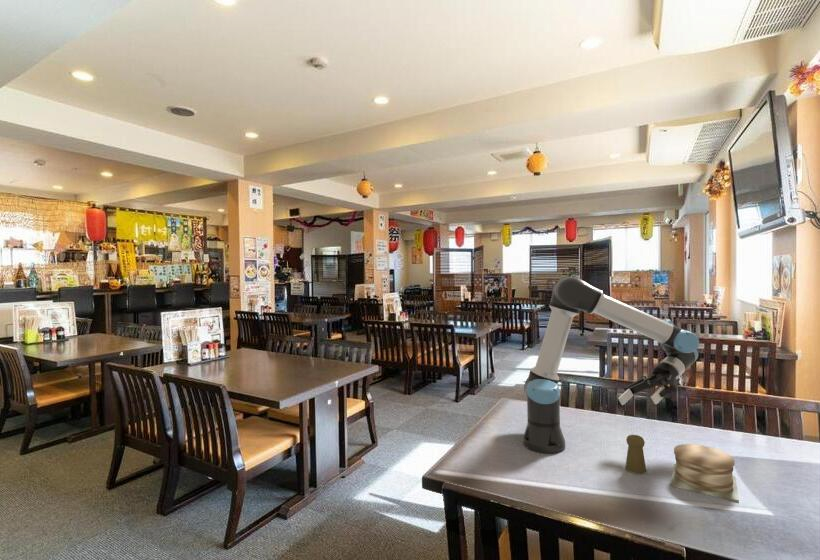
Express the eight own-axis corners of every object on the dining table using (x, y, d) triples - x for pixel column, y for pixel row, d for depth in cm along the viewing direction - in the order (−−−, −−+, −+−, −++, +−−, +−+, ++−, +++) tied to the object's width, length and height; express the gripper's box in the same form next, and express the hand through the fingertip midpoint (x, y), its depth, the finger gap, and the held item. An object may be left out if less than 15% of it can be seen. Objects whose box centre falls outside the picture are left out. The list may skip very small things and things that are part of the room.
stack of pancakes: (670, 486, 123) (670, 457, 123) (674, 465, 136) (673, 439, 136) (738, 502, 114) (738, 471, 114) (735, 478, 127) (735, 451, 127)
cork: (649, 474, 130) (648, 440, 130) (628, 473, 132) (628, 439, 132) (642, 466, 136) (642, 433, 136) (622, 464, 138) (622, 432, 138)
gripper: (707, 377, 140) (675, 410, 131) (644, 382, 163) (613, 411, 153) (695, 357, 141) (662, 389, 132) (634, 365, 163) (603, 393, 154)
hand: (636, 401), depth 142 cm, fingers open, 13 cm apart
